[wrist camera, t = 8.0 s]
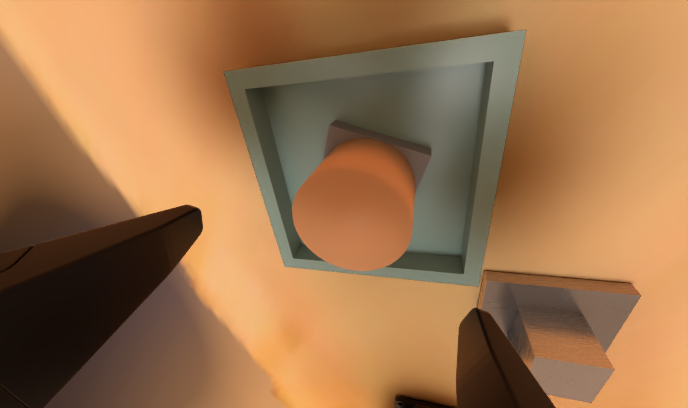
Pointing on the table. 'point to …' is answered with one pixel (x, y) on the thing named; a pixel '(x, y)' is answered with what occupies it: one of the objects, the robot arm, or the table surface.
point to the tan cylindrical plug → (360, 198)
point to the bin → (396, 121)
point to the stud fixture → (560, 326)
